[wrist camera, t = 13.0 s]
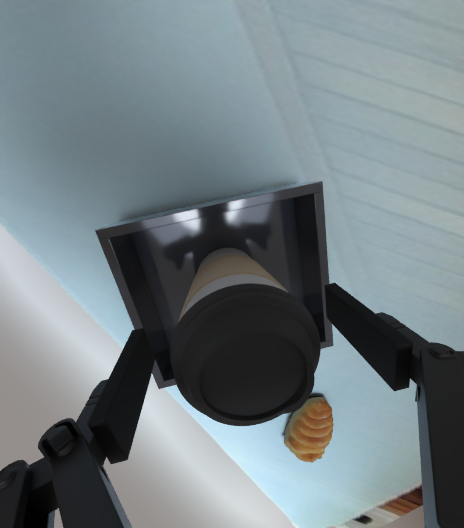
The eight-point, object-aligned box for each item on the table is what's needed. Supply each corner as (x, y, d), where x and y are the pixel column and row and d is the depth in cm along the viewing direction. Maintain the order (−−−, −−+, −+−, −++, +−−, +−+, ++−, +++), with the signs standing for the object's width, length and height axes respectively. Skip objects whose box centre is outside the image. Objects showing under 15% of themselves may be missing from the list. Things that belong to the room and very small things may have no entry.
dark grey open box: (121, 220, 24) (94, 230, 18) (295, 182, 25) (322, 181, 19) (167, 350, 29) (158, 389, 23) (309, 316, 30) (333, 345, 24)
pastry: (294, 391, 34) (305, 416, 30) (336, 393, 35) (352, 416, 31) (280, 438, 36) (288, 466, 33) (319, 438, 37) (331, 465, 34)
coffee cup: (174, 299, 26) (139, 432, 12) (203, 224, 24) (201, 278, 10) (247, 322, 28) (291, 459, 14) (279, 254, 26) (371, 336, 12)
